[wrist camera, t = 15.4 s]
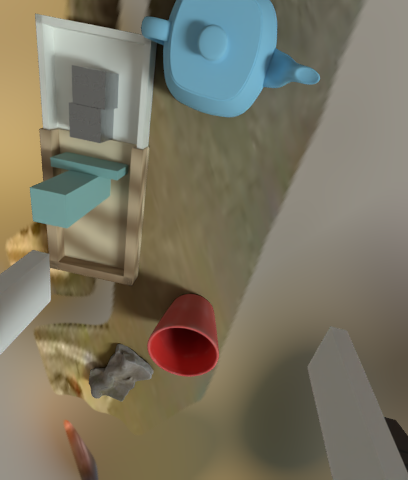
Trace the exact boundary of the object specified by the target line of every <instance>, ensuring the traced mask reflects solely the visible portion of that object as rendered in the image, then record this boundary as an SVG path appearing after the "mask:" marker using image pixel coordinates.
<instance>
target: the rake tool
mask: <svg viewBox="0 0 408 480" xmlns="http://www.w3.org/2000/svg"><path fill="white" fill-rule="evenodd" d="M50 159H51V166H52V167H56V168H61V169H66V170H69V171H66V172H64V173H62V174H60V175H57V176H55V177H53V178H50V179H48V180H46V181H43V182H41V183H39V184H36V185H34V186H32V187H30V195H31V205H32V215H33V221H35V222H39V223H44V224H48V225H53V226H58V227H62V228H69V227H70V226H71V225H73V224H74V223H75V222H76V221H78V220H79V219H80V218H82V217H83V216H84V215H86V214H87V213H88V212H90V211H91V210H92V209H94V208H95V207H96V206H98V205H99V204H100V203H102V202H103V201H104V200H106V199H107V198H108V197H109V196H110V188H111V179H113V180H119V179H120V178H122V177H123V176H125V175H126V174H128V166H129V165H127V164H122V163H118V162H113V161H108V160H103V159H99V158H94V157H89V156H84V155H80V154H75V153H70V152H65V153H62V154H59V155H56V156H53V157H50Z"/></svg>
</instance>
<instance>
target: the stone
mask: <svg viewBox="0 0 408 480" xmlns="http://www.w3.org/2000/svg"><path fill="white" fill-rule="evenodd" d="M152 374H153V369H152V368H151V366H150V365H149V364H148V363H146V362H145V361H144V360H143V359H142V358H140V357H139V356H138V355H137V354H136V353H135V352H134V351H133V350H131V349H130V348H128V347H127V346H124V345H123V344H117V347H116V352H115V354H113V355H112V356H111V358H110V361H109V363H108V365H107V367H106V368H95V369H91V370H90V377H89V384H90V387H91V394H92V396H93V397H94V398H100V397H101V396H103V395H107V396H110V397H112V398H115V399H117V400H119V401H123V400H124V398H125V396H126V395H127V394H128V392H129V391H130V390H131V389H132V388H134V385H135V381H140V380H147V379H150V378H151V375H152Z"/></svg>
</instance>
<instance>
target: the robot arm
mask: <svg viewBox="0 0 408 480" xmlns="http://www.w3.org/2000/svg"><path fill="white" fill-rule="evenodd" d="M50 301H51V292H50V262H49V254H47V253H43V252H39V251H35V250H32V251H31V252H30V253H28V254H27V255H26V256H24V257H23V258H21V259H20V260H19V261H17V262H16V263H15V264H13V265H12V266H11V267H9V268H8V269H7V270H5V271H4V272H3V273H1V274H0V354H1V353H2V352H3V351H4V350H5V349H6V348H7V347H8V346H9V345H10V344H11V343H12V341H13V340H14V339H15V338H16V337H17V336H18V335H19V334H20V333H21V332H22V331H23V330H24V329H25V328H26V327H27V325H28V324H29V323H30V322H31V321H32V320H33V319H34V318H35V317H36V316H37V315H38V314H39V313H40V311H42V309H43V308H44V307H45V306H46V305H47V304H48V303H49V302H50ZM307 368H308V371H309V376H310V381H311V385H312V389H313V394H314V399H315V403H316V407H317V412H318V416H319V421H320V425H321V429H322V434H323V438H324V443H325V447H326V452H327V456H328V460H329V464H330V469H331V474H332V478H333V480H408V436H407V434H406V433H405V432H404V430H403V429H402V428H401V426H400V425H399V424H398V423H397V421H396V420H393V419H389V418H386V417H384V416H383V414H382V411H381V409H380V407H379V405H378V402H377V400H376V397H375V395H374V393H373V391H372V388H371V386H370V383H369V381H368V379H367V376H366V374H365V372H364V369H363V367H362V365H361V362H360V360H359V358H358V356H357V353H356V351H355V348H354V346H353V344H352V341H351V339H350V336H349V334H348V332H347V331H346V330H343V329H338V328H335V327H330V328H329V330H328V332H327V333H326V335H325V337H324V339H323V340H322V342H321V344H320V346H319V347H318V349H317V351H316V353H315V355H314V356H313V358H312V360H311V362H310V363H309V365H308V367H307Z"/></svg>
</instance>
